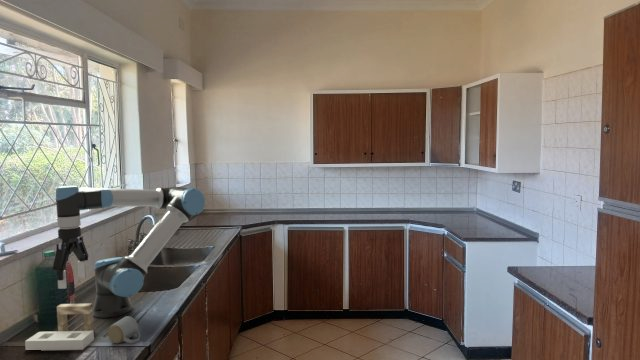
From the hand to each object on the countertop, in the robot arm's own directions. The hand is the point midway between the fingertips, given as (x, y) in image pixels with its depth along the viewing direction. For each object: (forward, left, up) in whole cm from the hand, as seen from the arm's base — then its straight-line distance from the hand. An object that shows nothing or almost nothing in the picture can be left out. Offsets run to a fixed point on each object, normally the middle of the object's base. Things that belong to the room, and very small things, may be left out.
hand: (72, 282), depth 171 cm
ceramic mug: (-18, +15, -20) cm, 31 cm away
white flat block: (+4, +10, -20) cm, 22 cm away
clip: (0, 0, -20) cm, 20 cm away
